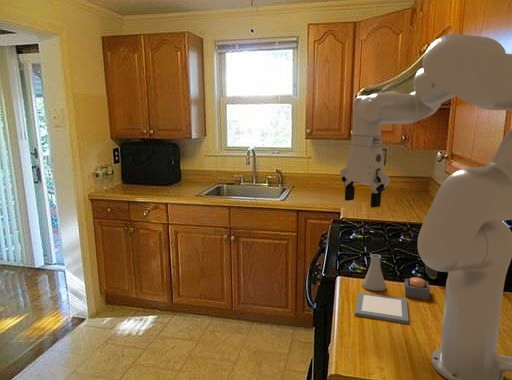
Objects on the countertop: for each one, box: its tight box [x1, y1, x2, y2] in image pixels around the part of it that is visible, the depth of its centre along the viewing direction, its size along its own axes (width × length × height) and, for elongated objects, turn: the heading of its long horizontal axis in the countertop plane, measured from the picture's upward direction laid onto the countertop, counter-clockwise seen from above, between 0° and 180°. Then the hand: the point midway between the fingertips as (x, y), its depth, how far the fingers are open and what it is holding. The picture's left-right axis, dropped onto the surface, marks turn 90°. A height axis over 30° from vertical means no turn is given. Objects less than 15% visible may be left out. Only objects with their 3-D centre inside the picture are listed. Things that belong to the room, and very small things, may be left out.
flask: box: [361, 253, 387, 292], centre depth 114 cm, size 7×7×10 cm
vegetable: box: [424, 263, 438, 280], centre depth 120 cm, size 4×4×20 cm
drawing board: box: [354, 292, 410, 325], centre depth 101 cm, size 13×13×1 cm
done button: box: [409, 277, 426, 288], centre depth 110 cm, size 4×4×3 cm
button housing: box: [403, 278, 431, 300], centre depth 110 cm, size 6×6×3 cm
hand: (361, 203), depth 105 cm, fingers open, 9 cm apart
